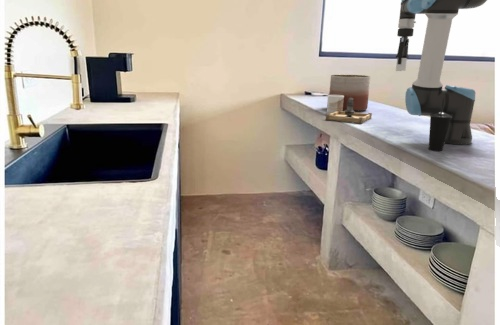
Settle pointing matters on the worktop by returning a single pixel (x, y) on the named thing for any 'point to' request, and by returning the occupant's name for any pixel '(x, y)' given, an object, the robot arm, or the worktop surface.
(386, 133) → the worktop surface
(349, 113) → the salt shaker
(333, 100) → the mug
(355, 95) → the planter
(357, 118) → the golden square tray
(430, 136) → the drinking cup
